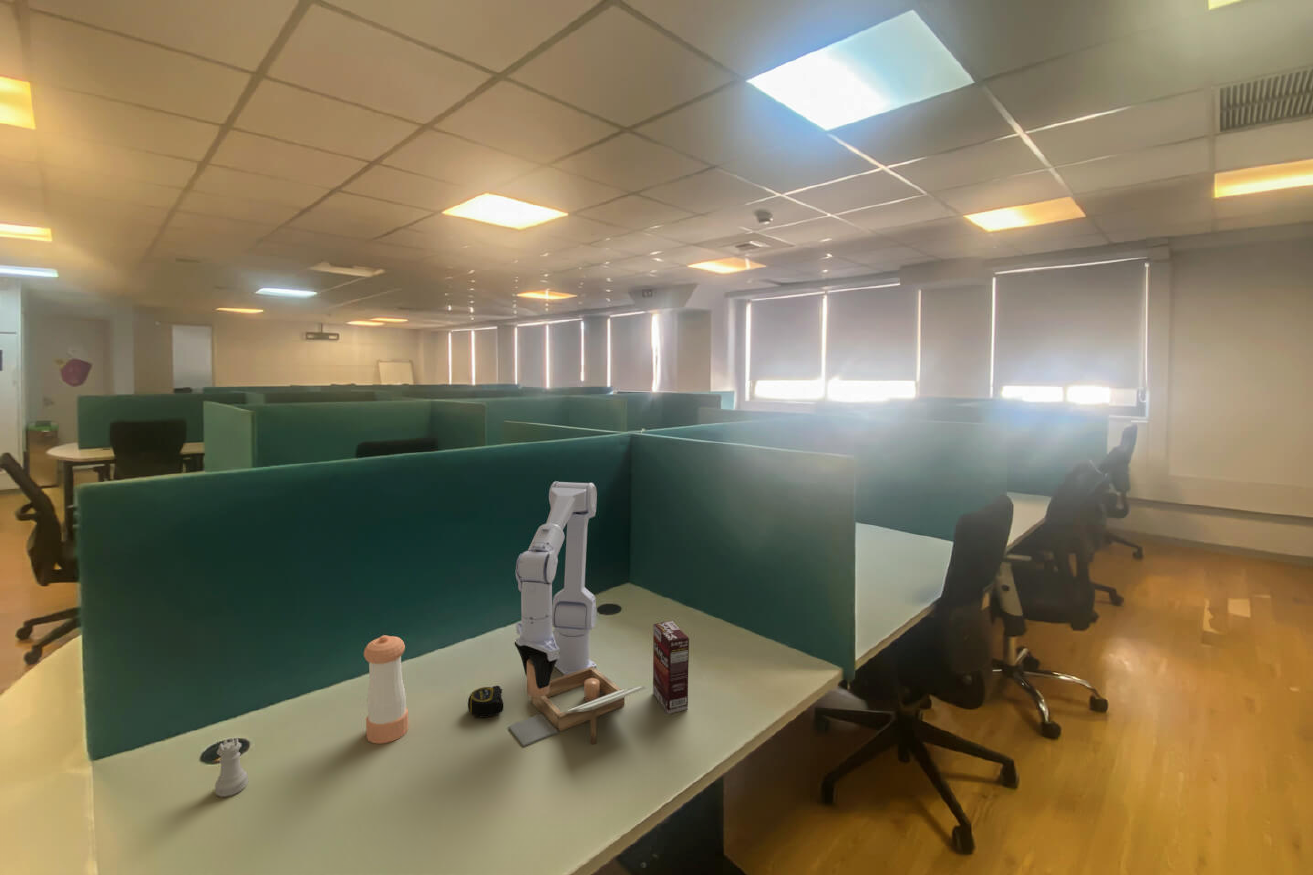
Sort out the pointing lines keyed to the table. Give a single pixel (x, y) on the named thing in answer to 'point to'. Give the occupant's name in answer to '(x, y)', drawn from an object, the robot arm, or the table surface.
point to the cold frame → (584, 711)
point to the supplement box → (670, 666)
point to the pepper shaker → (386, 690)
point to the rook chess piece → (230, 770)
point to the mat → (532, 729)
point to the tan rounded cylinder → (591, 689)
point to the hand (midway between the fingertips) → (537, 680)
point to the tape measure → (485, 701)
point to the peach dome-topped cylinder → (534, 683)
